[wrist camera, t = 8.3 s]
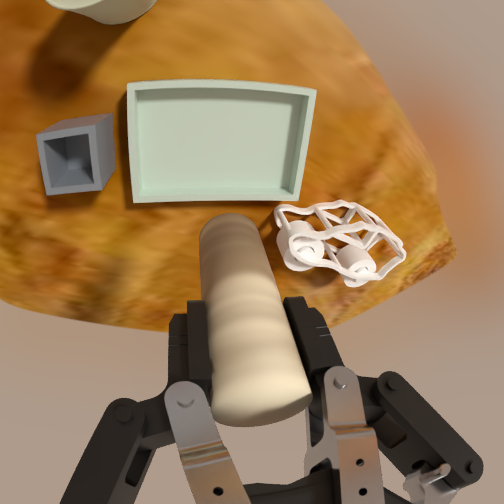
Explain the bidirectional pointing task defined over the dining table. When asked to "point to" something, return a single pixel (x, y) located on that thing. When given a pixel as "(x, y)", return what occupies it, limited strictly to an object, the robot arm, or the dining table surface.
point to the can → (106, 9)
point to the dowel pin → (247, 329)
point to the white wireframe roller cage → (349, 257)
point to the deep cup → (77, 154)
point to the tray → (217, 139)
